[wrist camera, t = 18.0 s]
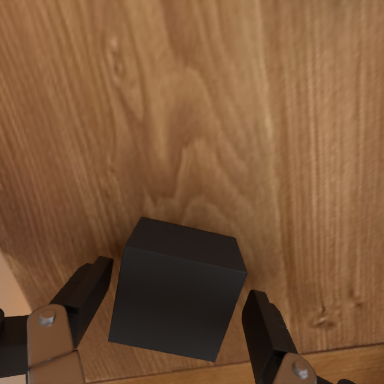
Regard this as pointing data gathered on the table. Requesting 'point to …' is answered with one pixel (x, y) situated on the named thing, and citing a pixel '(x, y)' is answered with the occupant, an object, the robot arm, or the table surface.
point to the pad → (176, 290)
